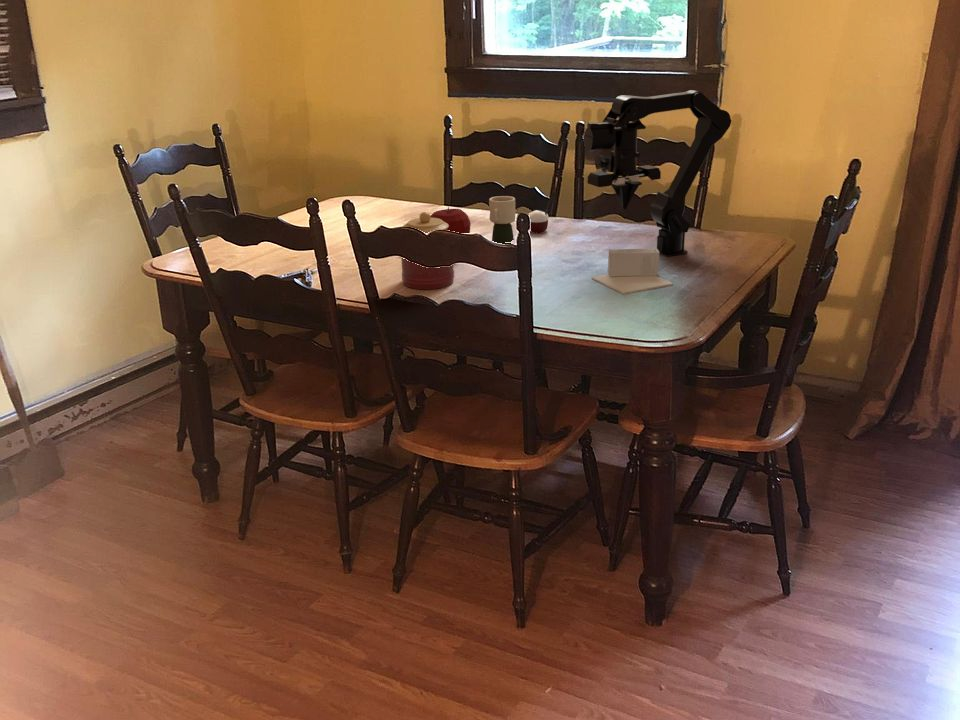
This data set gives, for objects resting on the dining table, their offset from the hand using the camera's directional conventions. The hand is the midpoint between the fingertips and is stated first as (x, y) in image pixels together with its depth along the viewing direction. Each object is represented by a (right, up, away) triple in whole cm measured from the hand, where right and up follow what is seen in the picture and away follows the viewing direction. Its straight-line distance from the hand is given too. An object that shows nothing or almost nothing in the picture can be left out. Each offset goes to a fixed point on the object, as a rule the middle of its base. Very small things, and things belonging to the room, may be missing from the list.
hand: (623, 209), depth 240 cm
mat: (0, -20, -14) cm, 24 cm away
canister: (-50, -20, -9) cm, 54 cm away
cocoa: (-20, -2, +32) cm, 38 cm away
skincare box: (+7, -15, -10) cm, 19 cm away
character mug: (-30, -7, +21) cm, 37 cm away
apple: (-45, -11, +13) cm, 48 cm away
